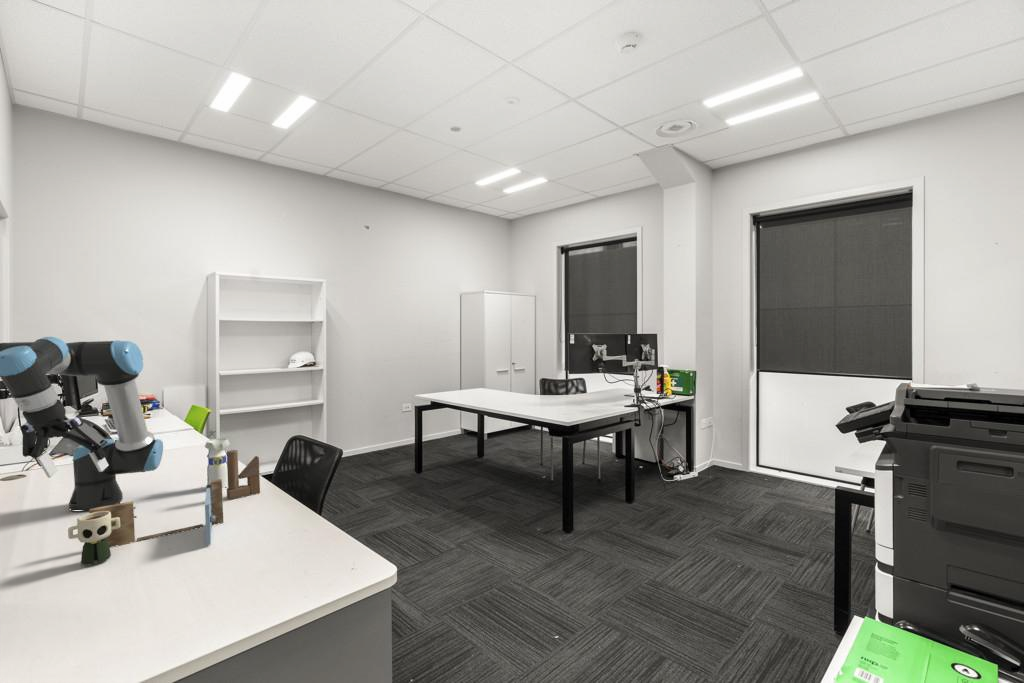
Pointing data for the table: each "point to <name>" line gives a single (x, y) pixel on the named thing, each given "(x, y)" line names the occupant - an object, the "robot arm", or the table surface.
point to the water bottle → (217, 459)
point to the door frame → (128, 533)
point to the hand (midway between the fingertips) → (78, 471)
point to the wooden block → (242, 476)
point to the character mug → (94, 535)
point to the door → (208, 516)
